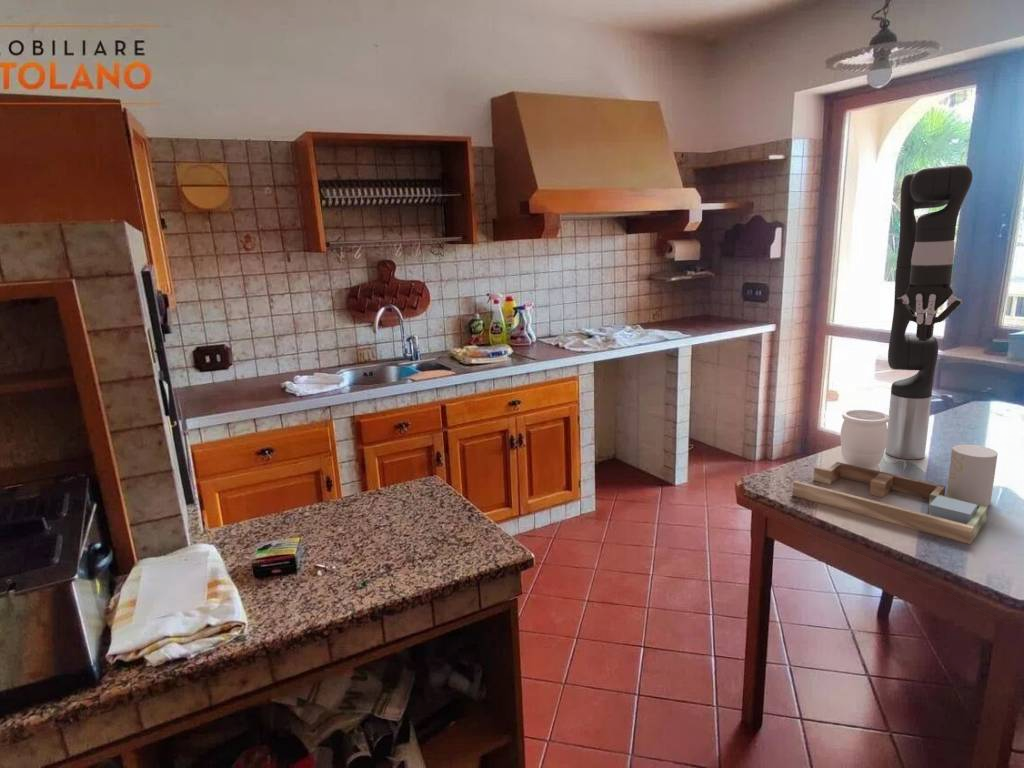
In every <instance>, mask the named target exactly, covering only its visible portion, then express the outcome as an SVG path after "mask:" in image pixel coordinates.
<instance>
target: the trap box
mask: <svg viewBox="0 0 1024 768" xmlns="http://www.w3.org/2000/svg"><path fill="white" fill-rule="evenodd" d="M839 478H843V479H847V480H851V481H854V482H858V483H863V484H868V485H869V495H872V496H876V497H880V498H886V496H887V495H888V494H889V493H891V492H892V490H893V491H896V492H899V493H904V494H908V495H914V496H918V497H921V498H926V499H929V500H928V508H927V509H928V510H929V506H930V504H931V503H932V501H933V500H934V499H935V498H936V497H937V496H942V497H947V496H946V495H945V494H946V493H945V492H946V485H943V484H939V483H933V482H929V481H924V480H920V479H916V478H911V477H906V476H902V475H897V474H893V473H888V472H883V471H881V470H880V471H876V470H871V469H867V468H862V467H858V466H853V465H849V464H844V462H840V461H836V462H835V463H834V464H832V465H831V466H829V467H828V468H826V467H821V466H817V465H816V466H814V469H813V481H814V482H815V481H816V482H819V483H823V484H828V485H831V484H832V483H834V482H835V481H836V480H837V479H839ZM792 484H793V485H792V496H794V497H797V498H800V499H805V500H809V501H812V502H814V503H815V502H816V503H820V504H822V505H825V506H830V507H833V508H837V509H841V510H845V511H849V512H851V513H854V514H859V515H862V516H866V517H870V518H874V519H878V520H881V521H884V522H887V523H891V524H896V525H899V526H902V527H906V528H909V529H913V530H916V531H921V532H923V533H924V532H925V533H928V534H932V535H935V536H939V537H941V538H942V537H943V538H944V539H945V538H946V539H949V540H953V541H957V542H960V543H964V544H968V545H971V544H972V543H973V541H974V539H976V536H977V535H978V533H980V531H981V530H982V528H983V527H984V525H985V524H986V522H987V516H988V510H989V506H985V505H981V504H977V503H972V502H968V501H964V500H960V499H955V498H951V497H947V498H951V499H955V500H960V501H964V502H968V503H972V504H977V511H976V512H975V514H974V515H973V516H972V518H971V519H970V521H969V522H968V523H967V524H963V523H959V522H955V521H951V520H947V519H943V518H940V517H936V516H932V515H929V513H928V514H927V513H924V512H921V511H916V510H912V509H908V508H903V507H900V506H896V505H892V504H889V503H885V502H880V501H877V500H872V499H870V498H869V499H868V498H865V497H862V496H857V495H855V494H854V495H853V494H850V493H847V492H841V491H838V490H835V489H830V488H825V487H822V486H819V485H814V484H811V483H807V482H802V481H799V480H794V481H793V483H792Z"/></svg>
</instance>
